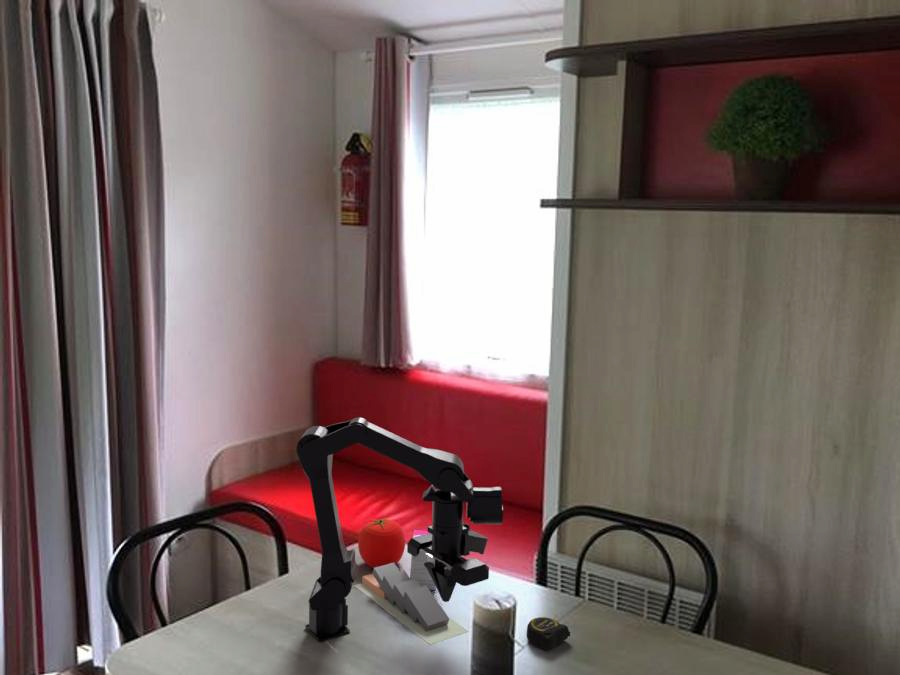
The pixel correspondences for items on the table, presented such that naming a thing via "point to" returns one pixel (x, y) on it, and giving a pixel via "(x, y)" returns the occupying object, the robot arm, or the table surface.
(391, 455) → the robot arm
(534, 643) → the tape measure
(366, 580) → the domino
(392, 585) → the domino
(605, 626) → the table surface
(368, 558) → the tomato
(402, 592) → the domino
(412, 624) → the runner
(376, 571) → the domino
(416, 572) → the supplement box
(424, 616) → the domino
